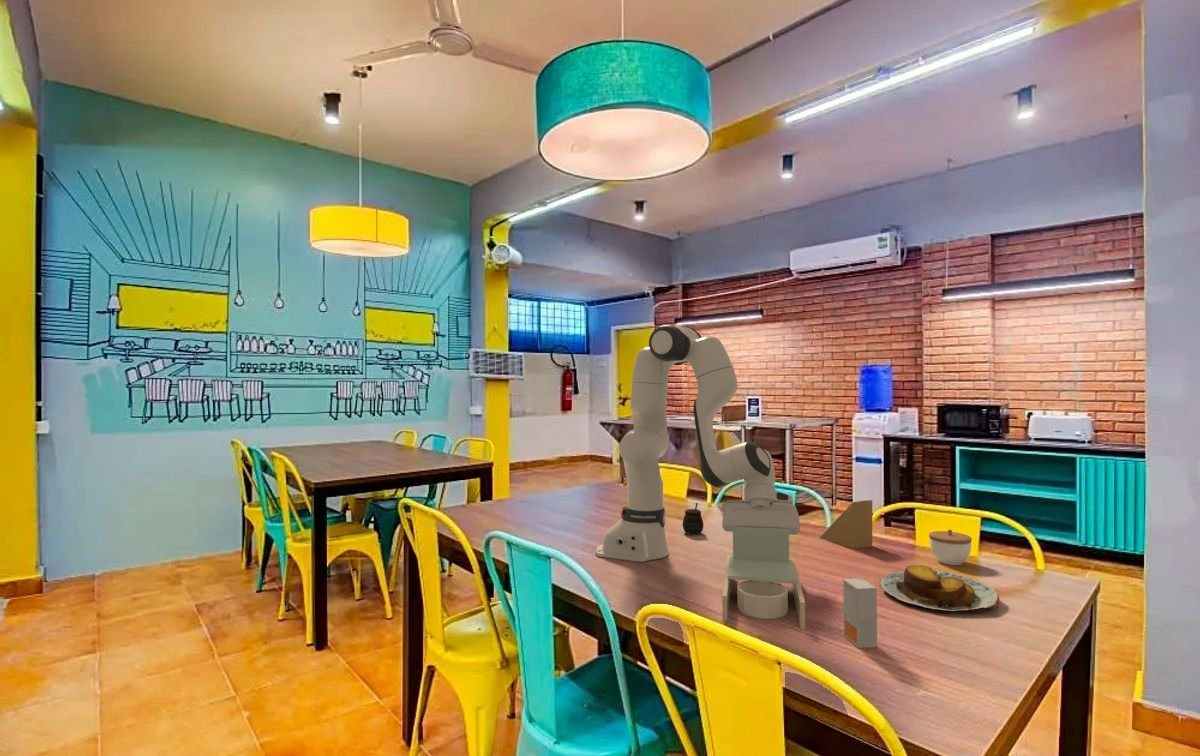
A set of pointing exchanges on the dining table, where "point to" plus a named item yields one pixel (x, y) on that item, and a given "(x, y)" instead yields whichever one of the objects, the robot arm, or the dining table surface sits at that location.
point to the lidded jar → (950, 546)
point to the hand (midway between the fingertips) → (761, 545)
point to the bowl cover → (761, 555)
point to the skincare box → (860, 613)
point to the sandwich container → (852, 526)
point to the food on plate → (939, 589)
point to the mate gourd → (693, 521)
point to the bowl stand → (764, 599)
